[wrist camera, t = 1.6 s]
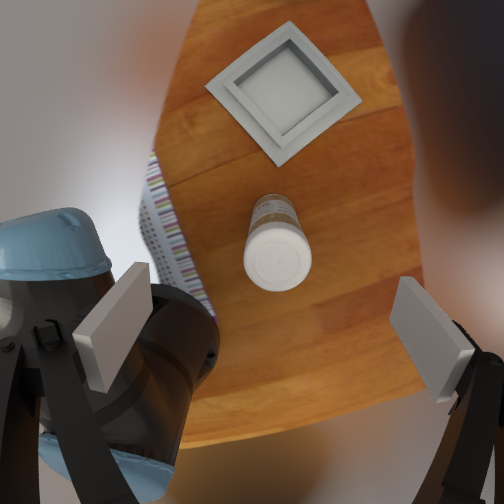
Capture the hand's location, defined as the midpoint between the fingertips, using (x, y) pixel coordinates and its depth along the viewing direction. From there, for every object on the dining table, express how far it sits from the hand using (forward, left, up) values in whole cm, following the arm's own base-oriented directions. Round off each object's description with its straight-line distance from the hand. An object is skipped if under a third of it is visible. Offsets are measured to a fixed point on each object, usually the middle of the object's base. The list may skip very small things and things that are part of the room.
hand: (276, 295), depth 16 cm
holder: (+9, +9, -19) cm, 22 cm away
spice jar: (0, 0, -19) cm, 19 cm away
